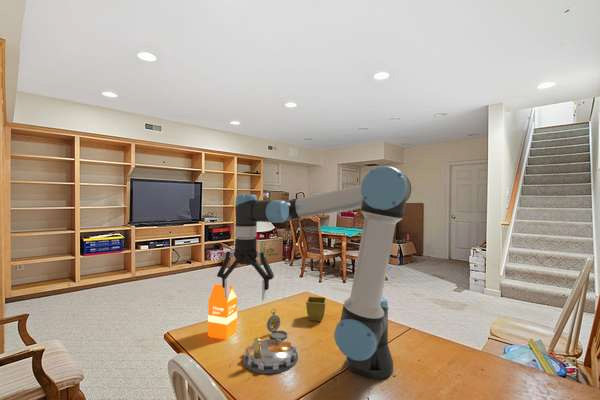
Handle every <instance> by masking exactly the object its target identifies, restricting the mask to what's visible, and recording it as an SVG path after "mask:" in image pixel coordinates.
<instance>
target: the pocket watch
mask: <svg viewBox="0 0 600 400" xmlns="http://www.w3.org/2000/svg"><path fill="white" fill-rule="evenodd" d="M270 312H271V314H272V315H271V316H270V317H269V318H268V320H267V322H266V328H267V330H268V332H270V337H271V339H272V340H276V339H281V340H284V339H286V338H287V337H288V332H286V331H284V330H278V329H279V327H280V325H281V318H280V316H279V315H276V313H277V310H276V309H275V308H274V309H273V308H272V310H271V311H270Z"/></svg>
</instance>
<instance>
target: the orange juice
mask: <svg viewBox="0 0 600 400" xmlns="http://www.w3.org/2000/svg"><path fill="white" fill-rule="evenodd" d="M207 305H208V308H207V311H208V312H207V313H208V315H207V337H208V336H209V338H214V339H221V340H226V341H227V340H229V339H230V338H231V337H232V336H233V335H235V334H236V333H237V330H238V328H237V327H238V326H237V325H238V296H237V294H236V291H235V289H234V287H233V285H230V296H229V297H227V298H225V288H223V287H222V284H215V283H214V285H213V287H212V290H211V293H210V295H209V299H208V304H207Z"/></svg>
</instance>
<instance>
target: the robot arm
mask: <svg viewBox="0 0 600 400" xmlns="http://www.w3.org/2000/svg"><path fill="white" fill-rule="evenodd" d="M411 184H412V183H411V181H410V179H409V178H408V176H406V175H405V174H404V173H403V172H402V171H401V170H400V169H399V168H396V167H393V166H389V165H388V166H387V165H381V166H377V167H375V168H372V169H371V170H370V171H368V172H367V173H366V174H365V175H364V176H363V179H362V180H361V184H360V185H355V186H350V187H347V188H342V189H337V190H331V191H327V192H322V193H316V194H311V195H308V196H302V197H298V198H293V199H288V200H279V199H266V200H264V199H263V200H259V199H258V196H257V194H237V195H236V197H235V206H234V208H235V212H234V213H235V224H234V225H235V226H234V228H235V229H234V230H235V231H234V237H235V240H234V251H232V250H228V251H226V253H225V258H224V260H223V262H222V264H221V266H220V269H219V270H218V272H217V273H216V274H217V275H216V277H218V278H221V280H222V281H221V283H222V284H221V285H222V287H223V288H225V298H227V297H229V296H230V286H231V284H230V282H231V280H230V279H231V278H230V277H229V275H231V273H232V272H233V271H234V269H236V267H237V266H239V264H240V265H241V266H242V265H249V266H250V265H251V266H252V267H253V268H254V270H256V272H257V274H259V275H260V277H261V278H262V279H263V280H262V281H261V301H265V300H266V299H267V291H268V290H269V288H270V280H273V279H274V278H275V274H274V272H273V271H272V268H271V266H270V264H269V262H268V260H267V257H266V255H267V254H266V251H261V252H258V251H257V246H258V245H257V229H258V227H257V225H258V224H257V223H258V222H259V223H261V222H262V223H273V224H276V223H277V224H278V223H284V222H286V221H295V220H298V219H303V218H309V217H315V216H316V217H317V216H321V215H327V214H333V213H338V212H339V213H340V212H344V211H349V210H351V211H352V210H355V209H360V213H362V216H363V217H364V221H363V227H362V231H361V237H360V243H359V247H358V249H359V250H358V253H357V259H356V263H355V270H354V275H353V280H352V286H351V291H350V296H349V297H348V298H347V299H345V300H344V301H343V307H342V311H341V317H340V321H339V322H338V323H337V324H336V325H335V328H334V333H333V337H334V341H335V344H336V346H337V348H338V349H339V351H340V352H341V353H342V354H343V355H344V356H345V357H346V366H347V369H348V370H349V371H350V372H352V373H353V374H355V375H356V376H358V377H361V378H365V379H371V380H381V379H386V378H388V377H390V376H391V375H392V374H393V372H394V360H393V357H392V354H391V350H390V347H389V334H388V333H389V303H388V300H387V299H386V298H385V297H383V294H384V293H383V292H384V287H385V283H386V278H387V271H388V266H389V263H390V262H389V260H390V256H391V253H392V252H391V250H392V246H393V245H392V244H393V240H394V235H395V229H396V225H397V223H399V222H400V221H402V220H403V219H404V214H405V208H406V203H407V202H408V200H409V199H410V197H411V194H412V185H411ZM233 257H234V258H235V260H234V261H233V262H232V264H231V265H230V266H229V268H228V269H227V267H228V265H229V263H230V261H231V258H233ZM257 257H258V258H259V259H260V261H261V264H262V266H263V267H264V269H263V267H262V266H261V265H260V264H259V262H258V260H257ZM226 269H227V270H226Z"/></svg>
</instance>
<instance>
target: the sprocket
mask: <svg viewBox="0 0 600 400" xmlns="http://www.w3.org/2000/svg"><path fill="white" fill-rule="evenodd" d="M261 338H262V337H255V338H253V342H252V344H251V345H250V346H249V345H248V346H246V347H245V352H246V353H245V352H244V353H243V356H244V360H248V365H249V366H250V367H252V366H256V367H258V369H259V370H264V369H271V368H272V369H273V370H278V367H282V366H286V367H287V366H289V365H291V360H295V359H296V352H297V347H296V346H295V345H294V346H293V345H292V342H291V341H288V340H287V341H283V340H282V339H269V338H263V340H262V339H261Z"/></svg>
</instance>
